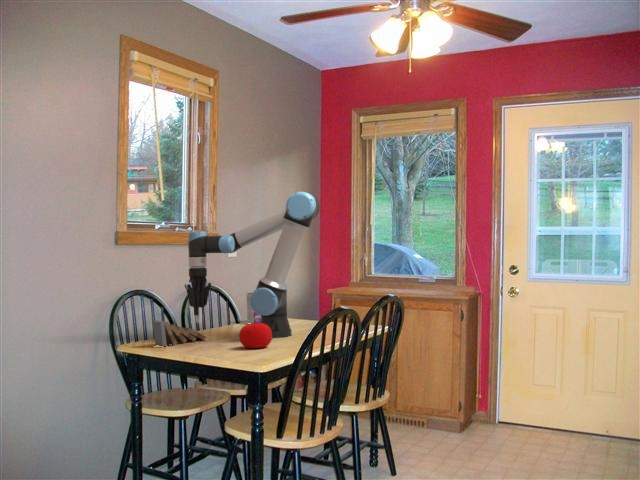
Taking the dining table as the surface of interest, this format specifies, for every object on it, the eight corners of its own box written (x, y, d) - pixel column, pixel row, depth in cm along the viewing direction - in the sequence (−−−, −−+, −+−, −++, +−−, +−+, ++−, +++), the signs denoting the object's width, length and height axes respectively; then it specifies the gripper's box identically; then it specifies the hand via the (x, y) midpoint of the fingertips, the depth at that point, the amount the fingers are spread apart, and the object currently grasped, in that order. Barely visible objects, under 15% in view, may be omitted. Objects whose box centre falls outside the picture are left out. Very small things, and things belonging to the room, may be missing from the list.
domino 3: (187, 340, 261) (173, 324, 255) (184, 343, 260) (170, 327, 254) (179, 339, 264) (165, 323, 259) (176, 342, 263) (162, 327, 257)
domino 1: (166, 345, 253) (164, 321, 252) (163, 346, 251) (160, 322, 251) (159, 344, 256) (156, 320, 255) (155, 345, 254) (152, 321, 254)
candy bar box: (260, 322, 332) (259, 291, 333) (267, 322, 330) (267, 291, 330) (246, 324, 323) (246, 292, 323) (254, 325, 320) (253, 293, 320)
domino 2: (177, 342, 257) (167, 322, 253) (174, 345, 255) (164, 324, 252) (169, 342, 260) (160, 321, 257) (166, 344, 259) (156, 323, 255)
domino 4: (196, 338, 265) (180, 326, 258) (194, 342, 264) (178, 330, 257) (188, 337, 268) (172, 326, 261) (186, 341, 267) (170, 330, 261)
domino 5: (205, 336, 269) (189, 327, 262) (204, 340, 268) (187, 332, 261) (198, 335, 272) (181, 327, 265) (196, 339, 271) (180, 331, 264)
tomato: (274, 348, 240) (274, 321, 240) (241, 351, 236) (241, 323, 236) (268, 344, 250) (268, 319, 250) (236, 347, 247) (236, 320, 247)
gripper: (191, 267, 262) (192, 324, 262) (215, 266, 272) (216, 321, 272) (179, 268, 267) (180, 323, 266) (203, 267, 277) (204, 320, 277)
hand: (198, 322), depth 269 cm, fingers closed
